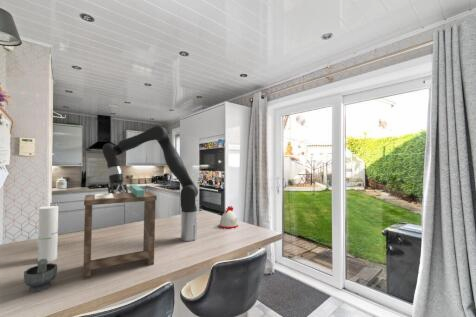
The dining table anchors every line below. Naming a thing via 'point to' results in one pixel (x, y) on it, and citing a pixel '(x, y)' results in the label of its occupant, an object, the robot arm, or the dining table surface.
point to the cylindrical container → (48, 233)
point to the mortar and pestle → (40, 275)
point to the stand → (108, 261)
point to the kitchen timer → (228, 219)
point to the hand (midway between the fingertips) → (120, 200)
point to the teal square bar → (137, 191)
